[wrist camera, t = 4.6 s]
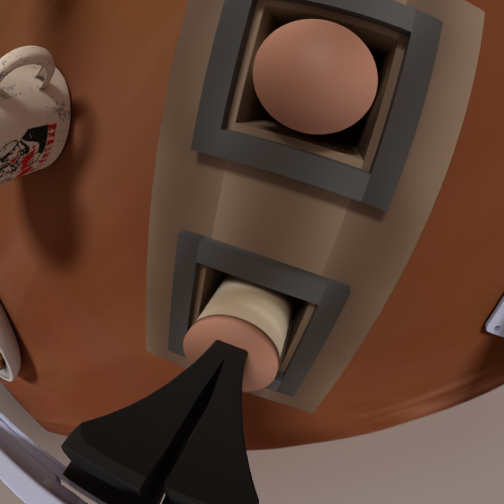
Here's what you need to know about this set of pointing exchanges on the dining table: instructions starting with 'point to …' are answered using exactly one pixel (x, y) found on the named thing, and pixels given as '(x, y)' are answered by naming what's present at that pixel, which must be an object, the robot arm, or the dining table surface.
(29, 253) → the dining table surface
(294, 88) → the peg
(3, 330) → the bowl
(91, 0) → the dining table surface
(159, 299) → the walnut block
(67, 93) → the teacup with lid
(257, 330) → the peg
